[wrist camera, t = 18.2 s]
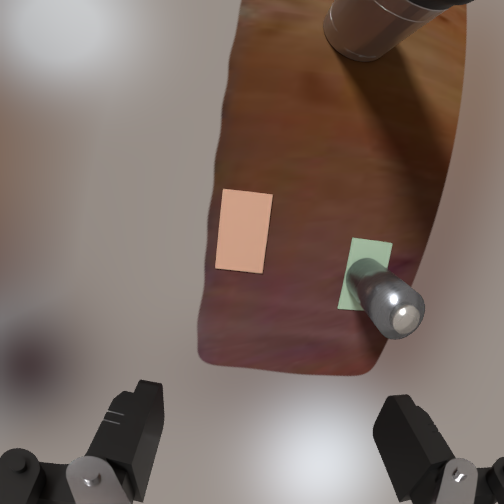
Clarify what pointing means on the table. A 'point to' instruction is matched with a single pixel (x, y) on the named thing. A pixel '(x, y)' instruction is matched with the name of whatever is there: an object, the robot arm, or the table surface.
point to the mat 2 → (359, 251)
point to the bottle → (385, 298)
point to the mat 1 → (243, 230)
